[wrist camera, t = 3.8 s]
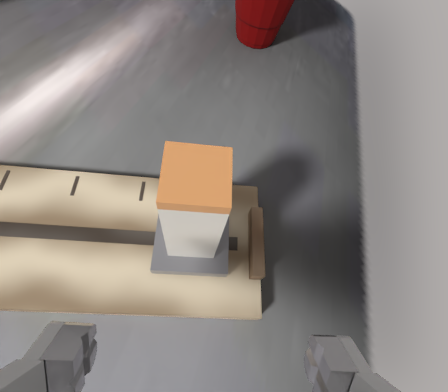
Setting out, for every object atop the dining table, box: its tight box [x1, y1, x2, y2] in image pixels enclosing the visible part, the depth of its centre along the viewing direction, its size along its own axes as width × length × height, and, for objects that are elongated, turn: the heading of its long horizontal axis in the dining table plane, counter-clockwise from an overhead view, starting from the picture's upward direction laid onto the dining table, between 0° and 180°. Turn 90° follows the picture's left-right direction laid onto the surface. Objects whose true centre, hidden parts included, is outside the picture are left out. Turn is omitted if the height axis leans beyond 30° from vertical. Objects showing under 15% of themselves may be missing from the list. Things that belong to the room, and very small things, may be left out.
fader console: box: [0, 165, 265, 320], centre depth 23 cm, size 12×28×4 cm, turn 88°
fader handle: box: [150, 141, 233, 277], centre depth 19 cm, size 6×6×11 cm
